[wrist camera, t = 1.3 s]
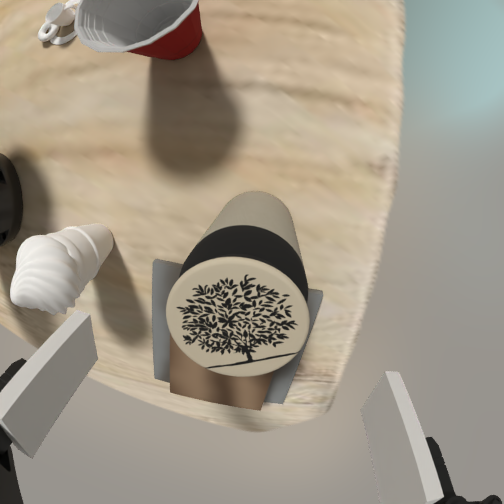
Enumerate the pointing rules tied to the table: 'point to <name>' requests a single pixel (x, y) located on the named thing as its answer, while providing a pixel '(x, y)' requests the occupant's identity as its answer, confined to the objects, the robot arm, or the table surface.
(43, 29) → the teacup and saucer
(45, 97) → the table surface
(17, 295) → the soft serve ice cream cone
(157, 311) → the base
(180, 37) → the plastic cup
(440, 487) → the robot arm
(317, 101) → the table surface
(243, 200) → the travel mug
